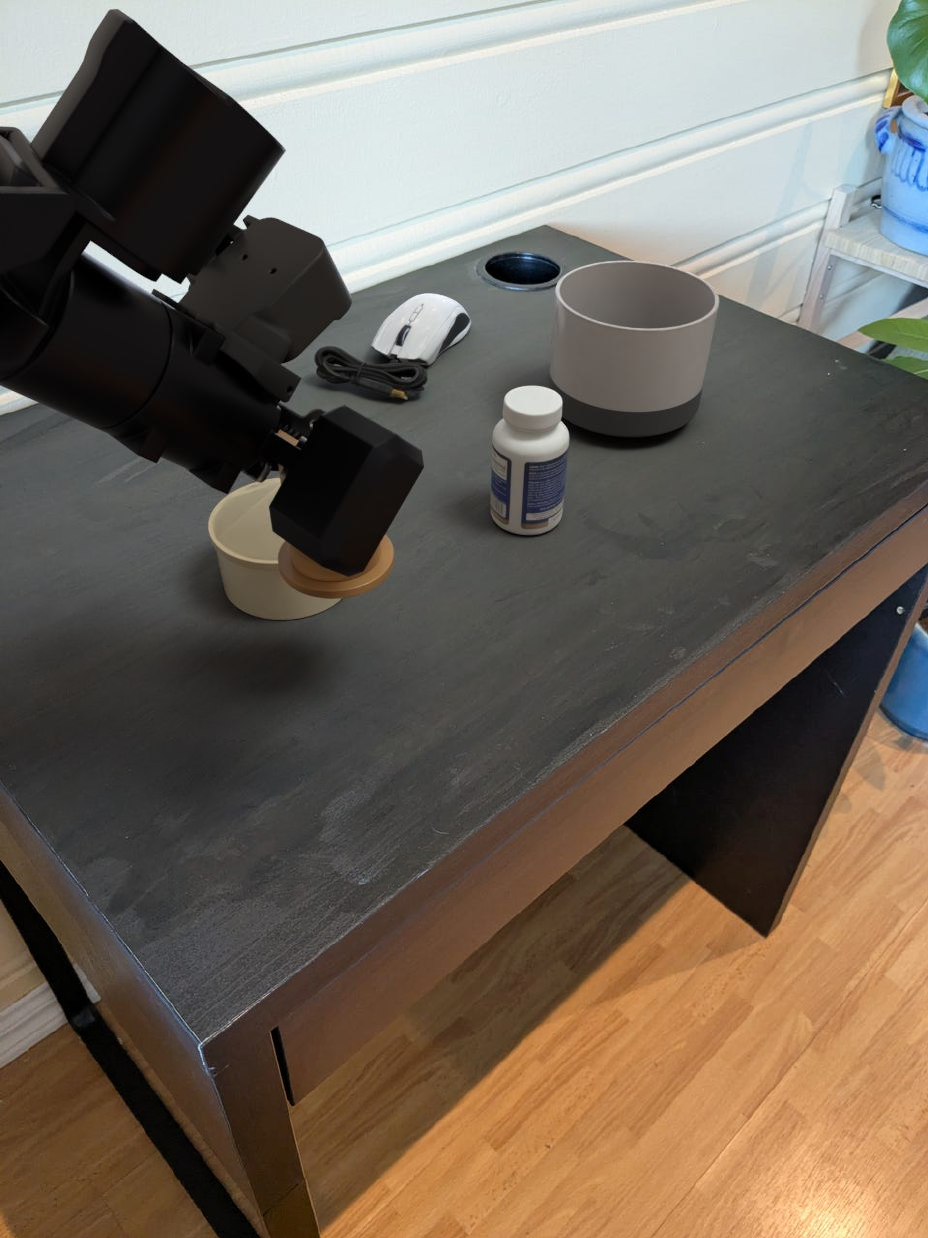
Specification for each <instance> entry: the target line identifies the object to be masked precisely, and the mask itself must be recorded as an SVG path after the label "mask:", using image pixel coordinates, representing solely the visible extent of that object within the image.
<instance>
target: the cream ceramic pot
mask: <svg viewBox="0 0 928 1238" xmlns="http://www.w3.org/2000/svg"><path fill="white" fill-rule="evenodd" d="M280 486H281V482H280V477H273V478H268V479H267V478H266V480H265V481H264V482H262V483H259V482H257V481H255V482H252V483H249V484H246V485H244V486H241V487H239V488H237V489H235V490H233V491H232V492H229V493H228V494H226V496H225V497H223V498H222V499H221V500H220V501H219V502H217V504H216V506H215V507H214V508H213V510H212V511H211V513H210V516H209V518H208V523H207V530H208V535H209V540H210V542H211V544H212V546H213V548H214V550H215V553H216V558H217V562H218V567H219V573H220V577H221V581H222V586H223V589H224V593H225V595H226V597H227V599H228V600H229V601H230V603H231V604H233V605H234V606H235V607H236V608H237V609H239V610H241V611H242V612H244V613H246V614H248V615H250V616H252V617H253V616H254V617H256V618H260V619H265V620H272V621H289V620H298V619H304V618H309V617H311V616H314V615H318V614H320V613H322V612H325V611H326V610H328V609H330V608H332V607H333V606H335V605H336V604H338V603H339V602H340V601H342V600H343V598H339V599H325V598H317V597H313V596H309V595H306V594H303V593H301V592H299V591H297V590H295V589H293V588H292V587H291V586H289V585H288V584H287V583H286V582H285V580H284V579H283V578H282V576H281V574H280V571H279V565H278V553H279V550H280V548H281V546H282V544H283V543H284V541H285V540H284V539H282V538H281V537H280V536H278V535H277V534H275V533H274V532H273V531H272V525H271V518H270V511H269V505H270V504H271V502H272V500H273V498H274V497H275V495H276V493H277V491H278V489H279V488H280Z"/></svg>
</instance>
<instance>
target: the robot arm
mask: <svg viewBox="0 0 928 1238" xmlns="http://www.w3.org/2000/svg"><path fill="white" fill-rule="evenodd" d="M286 151H287V150H286V148H285V147H284V146H283V145H282V144H281V142H280V141H279V140H278V139H277V138H276V137H275V136H274V135H273V134H272V133H271V132H269V130H268V129H267V128H266V127H265V126H263V125H262V124H261V122H259V120H257V119H256V118H255V117H254V116H253V115H252V114H250V112H248V110H247V109H245V107H243V106H242V105H241V104H240V103H239V102H238V101H237V100H235V99H234V98H233V97H232V96H230V95H229V94H228V93H227V92H226V91H224V90H222V89H221V88H220V87H219V86H217V85H216V84H214V83H213V82H211V81H210V80H209V79H207V78H205V77H204V76H203V75H201V74H200V73H198V72H197V71H196V70H194V69H193V68H191V67H190V66H189V65H187V64H186V63H184V62H183V61H182V60H180V59H179V58H178V57H177V56H176V55H174V54H173V53H172V52H171V51H170V50H168V49H167V48H166V47H165V46H164V45H163V44H161V43H160V42H159V41H158V40H157V39H155V38H154V37H153V36H152V35H151V34H150V33H149V32H148V31H147V30H145V28H143V27H142V26H141V24H139V23H138V22H137V21H136V20H135V19H134V18H132V17H131V16H129V15H127V14H126V13H125V12H123V11H122V10H120V9H119V8H113V9H109V10H108V11H107V12H106V14H105V16H104V17H103V19H102V20H101V22H100V23H99V24H98V26H97V27H96V29H95V31H94V33H93V34H92V36H91V38H90V40H89V42H88V45H87V48H86V51H85V53H84V58H83V60H82V62H81V64H80V66H79V68H78V69H77V71H76V73H75V74H74V76H73V77H72V79H71V81H70V82H69V83H68V85H67V87H66V88H65V90H64V92H63V93H62V95H61V96H60V97H59V99H58V100H57V102H56V104H54V106H53V108H52V109H51V111H50V113H49V114H48V115H47V117H46V119H45V121H44V122H43V123H42V125H41V127H40V128H39V129H38V131H37V132H36V134H35V135H34V137H33V139H32V140H31V141H30V140H29V139H28V137H27V136H26V135H25V134H24V133H23V131H22V130H21V129H19V128H17V127H16V126H0V387H3V388H5V389H7V390H10V391H12V392H14V393H15V394H18V395H21V396H22V397H25V398H27V399H30V400H32V401H34V402H36V403H39V404H41V405H43V406H45V407H48V408H50V409H52V410H54V411H56V412H59V413H61V414H63V415H65V416H68V417H70V418H72V419H74V420H77V421H79V422H81V423H83V424H85V425H88V426H90V427H92V428H94V429H96V430H99V431H101V432H103V433H106V434H108V435H109V436H111V437H112V438H113V439H115V440H116V441H117V442H119V443H120V444H122V445H123V446H124V447H126V448H127V449H128V450H130V451H131V452H133V453H134V454H135V455H136V456H138V457H140V458H143V459H145V460H147V461H149V462H152V463H154V464H158V463H159V461H160V459H161V458H162V459H164V460H165V461H169V462H171V463H173V464H175V465H178V466H179V467H182V468H184V469H185V470H186V471H188V472H189V473H191V474H192V475H193V476H195V477H196V478H197V479H198V480H200V481H201V482H203V483H204V484H206V485H207V486H209V487H210V488H212V489H213V490H216V491H218V492H220V493H223V494H225V495H229V494H230V492H231V490H232V488H233V487H234V485H235V483H236V481H237V480H238V477H239V475H240V474H241V473H243V474H244V475H246V476H248V477H249V478H250V479H251V480H253V481H255V482H259V483H262V482H264V481H265V480H267V478H268V476H269V475H270V473H271V472H279V467H278V464H280V465H281V466H283V467H284V468H283V469H282V471H281V473H280V474H281V475H282V476H284V477H285V479H284V481H283V482H282V484H281V486H280V488H279V489H278V491H277V493H276V495H275V497H274V498H273V500H272V502H271V504H270V505H269V511H270V518H271V525H272V531H273V532H274V533H275V534H277V535H278V536H280V537H281V538H282V539H284V540H285V541H287V542H288V543H289V544H291V545H292V546H294V547H295V548H296V549H298V550H299V551H301V552H302V553H303V554H305V555H306V556H308V557H309V558H310V559H312V560H313V561H315V562H316V563H317V564H319V565H320V566H322V567H324V568H326V569H329V570H332V571H334V572H337V573H339V574H342V575H344V576H347V577H350V576H353V575H356V574H358V573H361V572H364V570H365V568H366V567H367V565H368V563H369V561H370V560H371V558H372V556H373V554H374V553H375V551H376V549H377V548H378V546H379V544H380V542H381V541H382V539H383V537H384V535H387V532H388V530H389V528H390V527H391V525H392V524H393V522H394V520H395V518H396V517H397V515H398V513H399V512H400V510H401V508H402V506H403V505H404V503H405V501H406V499H407V498H408V496H409V494H410V492H412V491H411V490H412V489H413V487H414V486H415V484H416V482H417V481H418V479H419V477H420V475H421V473H422V472H423V470H424V468H425V464H424V458H423V457H424V456H423V451H422V449H421V448H419V447H417V446H416V445H415V444H413V443H411V442H410V441H409V440H407V439H406V438H404V437H402V436H401V435H399V434H397V433H396V432H394V431H392V430H391V429H389V428H387V427H386V426H383V425H381V424H379V423H378V422H376V421H375V420H372V418H369V417H368V416H366V415H364V414H362V413H361V412H359V411H357V410H355V409H353V408H352V407H350V406H348V405H346V404H342V405H340V406H337V407H336V408H333V409H331V410H329V411H326V410H324V409H321V408H313V409H311V410H309V411H308V412H307V413H306V414H305V415H301V414H299V413H298V412H296V411H295V410H293V409H291V408H289V407H288V406H286V405H284V404H283V403H286V404H287V403H289V402H290V400H291V398H292V397H293V395H294V392H295V391H296V389H297V388H298V386H299V384H300V383H301V381H302V377H301V376H300V375H298V374H296V373H295V372H294V371H292V370H291V369H289V368H287V367H285V366H284V365H283V364H287V363H290V362H291V361H294V360H296V359H297V357H299V356H300V355H301V354H303V352H304V351H305V350H306V349H308V347H309V346H310V345H312V343H313V342H314V341H315V340H316V339H317V338H318V337H319V336H320V335H321V334H322V333H323V332H324V331H325V330H326V329H327V328H328V327H330V325H331V324H332V323H333V322H334V321H340V320H341V319H342V318H343V317H344V316H345V315H346V314H347V313H348V312H349V311H350V309H351V307H352V304H353V297H352V295H351V293H350V291H349V290H348V287H347V285H346V283H345V281H344V279H343V277H342V275H341V273H340V271H339V269H338V267H337V265H336V263H335V261H334V259H333V257H332V255H331V253H330V251H329V249H328V247H327V246H326V243H325V241H324V239H322V238H321V237H320V236H319V235H316V234H314V233H311V232H309V231H307V230H305V229H303V228H301V227H298V226H295V225H293V224H291V223H288V222H286V221H284V220H282V219H279V218H276V217H273V216H272V217H271V216H270V217H264V218H261V219H260V218H257V217H255V216H252V215H250V214H247V215H246V216H244V218H242V222H243V224H244V226H245V228H241V227H239V226H237V225H235V223H236V221H237V220H238V219H239V217H240V216H241V214H242V213H243V212H244V210H245V209H246V208H247V206H248V205H249V204H250V202H251V201H252V199H253V198H254V196H255V195H256V193H257V192H258V191H259V190H260V188H261V187H262V185H263V184H264V182H265V181H266V180H267V178H268V177H269V175H270V174H271V173H272V171H273V170H274V168H275V167H276V165H277V164H278V163H279V162H280V160H281V159H282V157H283V156H284V154H285V153H286ZM90 243H93V244H94V245H96V246H97V247H98V248H100V249H101V250H104V251H105V252H106V253H107V254H108V255H110V256H111V257H113V258H115V259H116V260H117V261H119V262H120V263H121V264H123V265H124V266H126V267H127V268H129V269H130V270H132V271H133V272H135V273H137V274H138V275H140V276H142V277H143V278H145V279H147V280H149V281H151V282H154V283H157V282H158V281H159V279H160V278H161V276H162V275H164V276H165V277H167V278H168V279H170V280H171V281H173V282H175V283H177V284H179V285H182V284H183V283H184V281H185V279H187V280H188V283H189V285H188V287H187V292H186V293H185V294H184V295H183V296H182V297H181V299H180V300H179V301H176V300H174V299H173V298H171V297H170V296H168V295H166V294H164V293H163V292H161V291H159V290H157V289H155V288H153V289H152V290H151V292H150V291H148V290H146V289H145V288H144V287H142V286H140V285H138V284H137V283H135V282H133V281H132V280H130V279H129V278H127V277H126V276H124V275H122V274H121V273H119V271H116V270H115V269H113V268H112V267H110V266H108V265H106V264H105V263H104V262H102V261H100V260H99V259H98V258H96V257H94V256H92V255H91V254H89V253H88V252H86V248H87V247H88V246H89V244H90ZM281 402H282V403H281ZM279 430H281V431H283V432H285V433H287V434H288V435H290V436H292V437H293V438H294V439H296V440H299V441H298V443H297V445H296V446H295V445H294V444H292V443H291V442H289V441H287V440H286V439H284V438H283V437H281V436H279V435H278V434H277V433H278V431H279ZM302 436H304V437H305V438H306V439H307V440H306V439H304V438H302Z"/></svg>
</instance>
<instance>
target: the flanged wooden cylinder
mask: <svg viewBox="0 0 928 1238" xmlns="http://www.w3.org/2000/svg"><path fill="white" fill-rule="evenodd" d="M277 434H278V435H279V436H281V437H283V438H284V439H286V440H287V441H289V442H291V443H292V444H294V445H295V446H296V445H297V443H298V441H299V440H296V439H294V438H293V437H292V436H290V435H288V434H287V433H285V432H283V431H281V430H279V431H278V433H277ZM302 438H304V439H306V438H305V437H304V436H302ZM306 440H307V439H306ZM278 467H279V471H278V474H279V478H280V482H281V484H282V482H283V481H284V479H285V477H284V476H282V475H281V474H280V473H281V471H282V469H283V468H284V467H283V466H281V465H280V464H278ZM278 565H279V571H280V574H281V576H282V578H283V579H284V580H285V582H286V583H287V584H288V585H289V586H291V587H292V588H293V589H295V590H297V591H299V592H301V593H303V594H306V595H309V596H313V597H317V598H325V599H339V598H342V599H346V598H347V599H348V598H351V597H357V596H360V595H362V594H365V593H367V592H369V591H372V590H374V589H375V588H376V587H378V586H380V585H381V584H382V583H383V582H384V581H386V579H387V578H388V577H389V576H390V574H391V572H392V571H393V568H394V566H395V549H394V544H393V543H392V541H391V539H390V538H389V537H388V535H387V534H385V535H384V537H383V539H382V541H381V542H380V544H379V546H378V548H377V549H376V551H375V553H374V554H373V556H372V558H371V560H370V561H369V563H368V565H367V567H366V568H365V570H364V572H361V573H358V574H356V575H353V576H350V577H347V576H344V575H342V574H339V573H337V572H334V571H332V570H329V569H326V568H324V567H322V566H320V565H319V564H317V563H316V562H315V561H313V560H312V559H310V558H309V557H308V556H306V555H305V554H303V553H302V552H301V551H299V550H298V549H296V548H295V547H294V546H292V545H291V544H289V543H288V542H287V541H284V543H283V544H282V546H281V548H280V550H279V553H278Z"/></svg>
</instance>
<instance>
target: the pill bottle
mask: <svg viewBox="0 0 928 1238" xmlns="http://www.w3.org/2000/svg"><path fill="white" fill-rule="evenodd" d="M562 403H563V402H562V398H561V396H560V395H559V394H558V393H557V392H555V391H554V390H551V389H549V388H548V387H545V386H540V385H523V386H519V387H516V388H513V389H511V390H509V391H508V392H507V393H505V396H504V398H503V407H502V418H501V419H500V420H499V421H498V422H497V423H496V425H495V427H494V428H493V432H492V437H491V438H492V439H491V440H492V442H491V466H490V468H491V472H490V473H491V474H490V515H491V519H492V520H493V521H494V523H495V524H496V525H497V526H498V527H499V528H501V529H503V530H505V531H507V532H509V533H512V534H516V535H523V536H535V535H541V534H544V533H546V532H547V533H548V532H549V531H552V530H553V529H554V528H555V527H557V526H558V524H559V523H560V521H561V520H562V517H563V511H564V502H565V500H564V499H565V491H566V480H567V469H568V458H569V448H570V432H569V430H568V427H567V426H566V425H565V424H564V422H563V421H562V418H563V417H562Z"/></svg>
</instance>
